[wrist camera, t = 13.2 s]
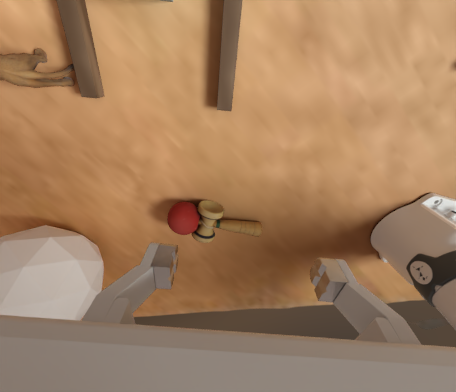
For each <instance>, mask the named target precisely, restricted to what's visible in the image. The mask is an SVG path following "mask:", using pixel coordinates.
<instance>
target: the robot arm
mask: <svg viewBox="0 0 456 392" xmlns="http://www.w3.org/2000/svg"><path fill="white" fill-rule="evenodd" d="M371 244H372V246H373V248H374V249H376V250H377V251H378V252H379V256H380V258H381V259H382V260H383V261H384V262H388V263H389V264H390V265H391V266H392V267H393V268H394V269H395V270H396V271H397V272H398V273H399V274H400V275H401V276H402V277H403V278H404V279H405V280H406V281H407V282H408V283H410V284H411V285H414V287H415V288H416V289H417V290H418V291H419V293H420V295H421V296H422V297H423V298H424V299H425V300H427V302H428V303H429V304H430V305H432V306H433V307H436V308H437V309H438V310H439V311H440V312H441V313H442V315H443V316H444V317H445V318H446V319H447V321H448V322H449V323H450V324H451V325H452V326H453V327H454V329H455V330H456V200H455V199H452V198H448V197H445V196H442V195H438V194H435V193H430V194H427V195H425V196H423V197H422V198H420V199H419V200H417V201H416V202H414V203H412V204H410V205H407V206H404V207H402V208H399V209H397V210H395V211H394V212H392V213H390V214H389V215H387V216H386V217H385V218H383V219H382V220H381V221H380V222H379V223H378V224H377V226H376V227H375V228H374V230H373V232H372V235H371ZM177 252H178V245H171V244H162V243H152V242H151V243H150V244H149V246H148V248H147V250H146V253H145V255H144V257H143V259H142V261H141V264H140V266H135V267H134V268H133V269H131V270H130V271H129V272H127V273H126V274H124V275H123V276H122V277H120V278H119V279H118V280H116V281H115V282H114V283H112V284H111V285H109V286H108V287H107V288H105V289H104V290H103V291H101V292H100V293H98V294H97V295H96V297H95V298H94V300H93V302H92V304H91V305H90V307H89V309H88V310H87V312H86V314H85V315H84V317H83V319H82V321H79V320H65V319H52V318H38V317H24V316H11V315H0V392H456V347H444V346H430V345H421V344H420V342H419V340H418V339H417V337H416V336H415V334H414V333H413V331H412V330H411V328H410V327H409V325H408V324H407V322H406V321H405V319H404V318H402V317H401V316H400V315H399V314H397V313H396V312H395V311H394V310H392V309H391V308H390V307H389V306H387V305H386V304H385V303H384V302H382V301H381V300H380V299H379V298H377V297H376V296H375V295H374V294H372V293H371V292H370V291H369V290H367V289H366V288H365V287H364V286H362V285H361V284H358V283H357V281H356V279H355V277H354V276H353V274H352V272H351V270H350V269H349V267H348V265H347V263H346V262H345V261H344V260H343V259H332V258H319V257H318V258H316V259H315V261H314V262H315V265H314V266H312V267H311V270H310V279H311V282H312V283H313V284H314V285H315V286H316V287H315V293H316V296H317V298H318V301H325V302H333V304H334V305H335V306H336V307H337V308H338V310H339V311H340V312H341V313H342V314H343V315H344V316H345V317H346V319H347V320H348V321H349V322H350V323H351V324H352V325H353V327H354V328H355V329H356V330H357V331H358V332H359V333H360V335H359V336H358V337H357V338H356V339H355V340H346V339H330V338H318V337H303V336H290V335H276V334H261V333H247V332H233V331H218V330H205V329H204V330H203V329H190V328H176V327H163V326H162V327H161V326H148V325H135V321H134V317H133V312H134V311H135V310H136V309H137V308H138V307H139V306H140V305H141V304H142V303H143V302H144V301H145V300H146V299H147V298H148V297H149V296H150V295H151V294H152V293H153V292H154V291H155V289H156V288H159V289H171V288H172V285H173V281H174V273H175V272H176V270H177V265H178V254H177Z"/></svg>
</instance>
